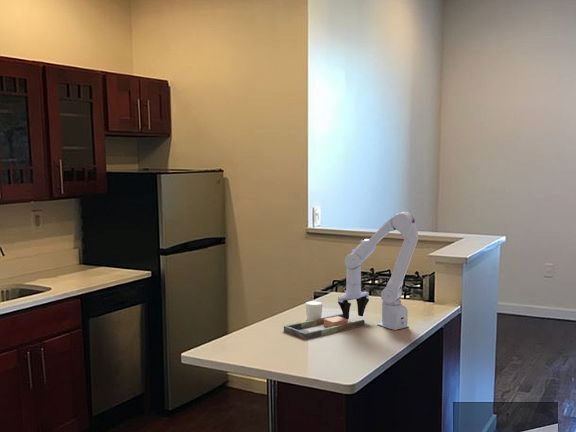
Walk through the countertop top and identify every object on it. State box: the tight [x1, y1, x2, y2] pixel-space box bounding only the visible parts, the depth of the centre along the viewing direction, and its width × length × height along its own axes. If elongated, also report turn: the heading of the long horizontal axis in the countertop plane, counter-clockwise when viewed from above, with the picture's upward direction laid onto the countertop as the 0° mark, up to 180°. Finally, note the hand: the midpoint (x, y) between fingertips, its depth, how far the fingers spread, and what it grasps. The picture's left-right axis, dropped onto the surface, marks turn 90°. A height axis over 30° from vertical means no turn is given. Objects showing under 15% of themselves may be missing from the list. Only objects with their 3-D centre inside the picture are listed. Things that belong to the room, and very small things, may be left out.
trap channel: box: [283, 313, 366, 340], centre depth 230 cm, size 13×29×2 cm, turn 127°
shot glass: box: [305, 300, 323, 321], centre depth 242 cm, size 7×7×7 cm
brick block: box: [323, 316, 349, 328], centre depth 234 cm, size 6×7×3 cm
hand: (353, 317), depth 239 cm, fingers open, 7 cm apart
